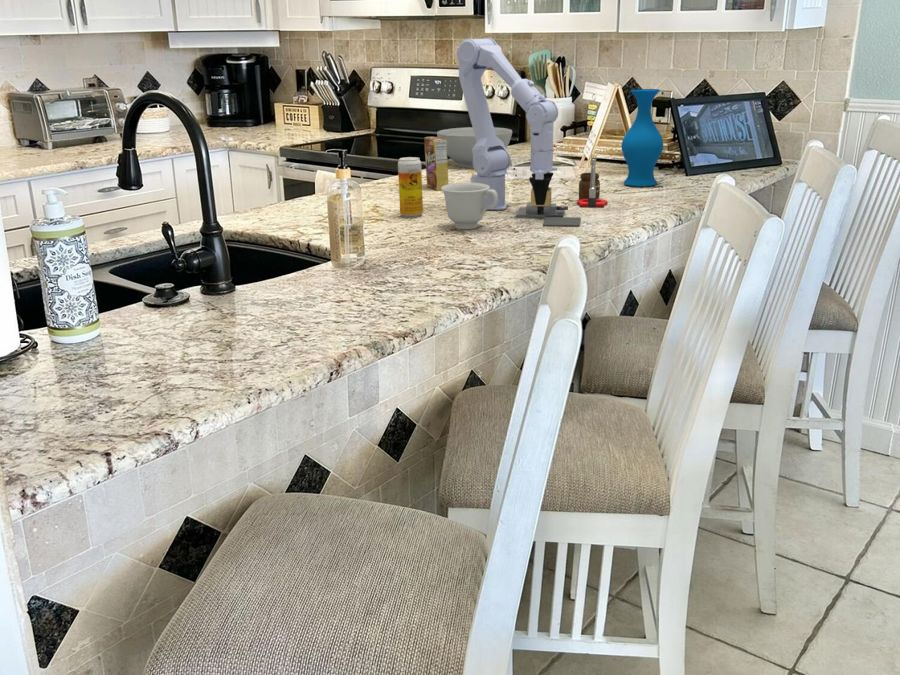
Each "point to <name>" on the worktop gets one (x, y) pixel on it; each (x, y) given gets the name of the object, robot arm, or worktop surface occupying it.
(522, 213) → the vise
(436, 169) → the candy box
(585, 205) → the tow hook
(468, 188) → the teacup
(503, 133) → the decorative bowl
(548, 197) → the tan slotted block
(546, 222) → the mat
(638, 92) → the vase
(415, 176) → the beer can
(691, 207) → the worktop surface
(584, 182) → the utensil holder
